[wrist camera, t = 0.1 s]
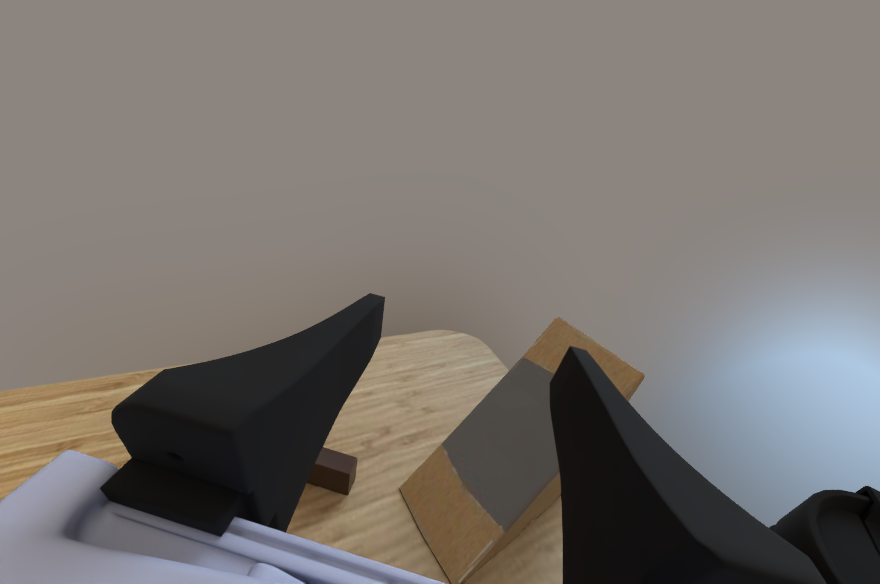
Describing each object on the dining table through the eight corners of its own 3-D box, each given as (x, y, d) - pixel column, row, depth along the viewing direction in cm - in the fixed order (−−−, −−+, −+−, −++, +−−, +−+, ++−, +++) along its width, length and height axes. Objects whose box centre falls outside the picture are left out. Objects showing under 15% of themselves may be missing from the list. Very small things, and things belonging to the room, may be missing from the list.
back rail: (348, 495, 27) (349, 474, 25) (176, 440, 28) (169, 417, 26) (355, 478, 28) (357, 457, 26) (191, 427, 29) (185, 404, 28)
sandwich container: (395, 486, 28) (424, 356, 21) (510, 420, 37) (557, 314, 30) (454, 594, 22) (520, 465, 15) (572, 485, 31) (648, 373, 24)
